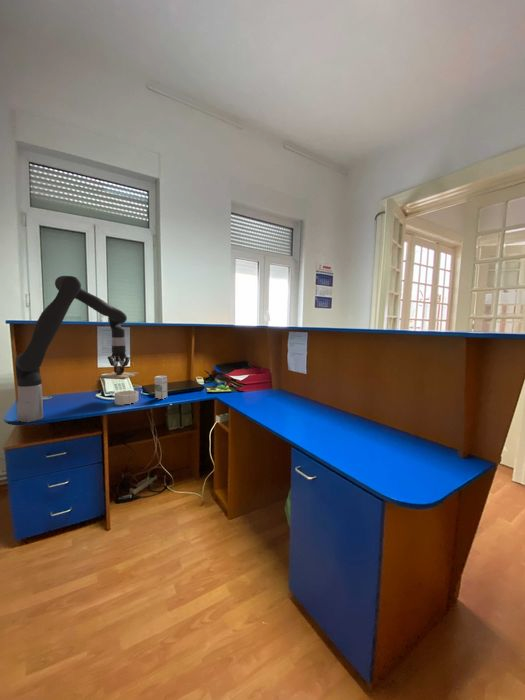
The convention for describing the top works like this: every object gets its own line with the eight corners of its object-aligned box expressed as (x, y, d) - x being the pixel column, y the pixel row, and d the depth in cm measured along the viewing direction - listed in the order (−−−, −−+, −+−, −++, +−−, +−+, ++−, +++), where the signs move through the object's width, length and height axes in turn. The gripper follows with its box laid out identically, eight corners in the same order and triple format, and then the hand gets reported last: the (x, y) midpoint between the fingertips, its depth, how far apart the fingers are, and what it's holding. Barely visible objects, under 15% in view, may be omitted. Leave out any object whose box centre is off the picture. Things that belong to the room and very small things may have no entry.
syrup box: (167, 397, 190) (167, 375, 188) (162, 400, 184) (162, 377, 183) (160, 396, 191) (159, 375, 190) (154, 399, 185) (154, 376, 184)
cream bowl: (130, 405, 171) (130, 396, 170) (110, 404, 173) (109, 394, 172) (142, 399, 183) (142, 391, 183) (123, 398, 185) (123, 389, 185)
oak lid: (124, 379, 170) (124, 368, 170) (98, 378, 172) (98, 367, 171) (138, 374, 186) (138, 364, 186) (114, 373, 188) (114, 363, 187)
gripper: (103, 344, 174) (104, 373, 176) (125, 345, 172) (126, 374, 174) (111, 343, 182) (112, 371, 183) (132, 344, 180) (133, 372, 182)
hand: (119, 372), depth 179 cm, fingers closed on oak lid, 3 cm apart
